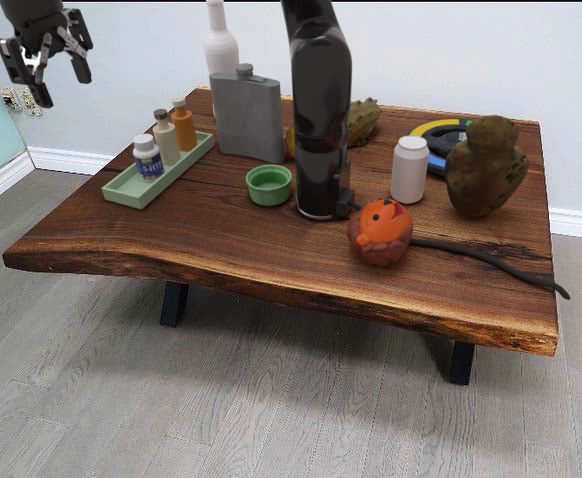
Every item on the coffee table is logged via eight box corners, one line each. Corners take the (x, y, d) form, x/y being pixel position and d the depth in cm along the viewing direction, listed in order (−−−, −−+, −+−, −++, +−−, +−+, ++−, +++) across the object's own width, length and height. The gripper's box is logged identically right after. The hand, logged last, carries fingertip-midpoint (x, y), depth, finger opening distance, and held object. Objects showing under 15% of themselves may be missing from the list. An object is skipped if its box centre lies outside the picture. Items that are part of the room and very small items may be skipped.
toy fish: (406, 282, 80) (414, 226, 72) (340, 273, 82) (342, 217, 75) (411, 235, 88) (419, 181, 81) (352, 228, 91) (354, 174, 84)
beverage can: (427, 193, 98) (435, 138, 90) (414, 210, 94) (422, 153, 87) (398, 184, 101) (403, 130, 93) (384, 200, 97) (389, 145, 89)
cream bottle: (185, 157, 112) (175, 108, 104) (173, 167, 109) (162, 118, 101) (168, 153, 113) (157, 105, 106) (156, 163, 110) (144, 114, 103)
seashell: (385, 131, 121) (388, 89, 115) (365, 154, 110) (367, 109, 105) (342, 124, 125) (343, 84, 120) (318, 146, 114) (319, 102, 109)
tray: (214, 145, 117) (213, 134, 115) (141, 209, 98) (138, 197, 97) (182, 138, 120) (180, 127, 119) (105, 199, 102) (101, 188, 100)
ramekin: (273, 213, 95) (272, 194, 93) (238, 198, 100) (235, 180, 97) (301, 191, 101) (301, 172, 98) (267, 178, 105) (265, 159, 102)
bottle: (246, 109, 131) (232, -17, 112) (246, 124, 125) (231, -7, 105) (215, 112, 131) (196, -14, 112) (213, 126, 124) (192, -5, 105)
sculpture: (434, 222, 91) (451, 120, 78) (440, 196, 97) (457, 98, 84) (512, 235, 87) (544, 130, 75) (513, 207, 93) (543, 106, 81)
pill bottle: (146, 185, 103) (136, 147, 98) (135, 175, 107) (124, 138, 101) (169, 176, 106) (160, 138, 100) (158, 166, 109) (149, 129, 104)
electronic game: (411, 125, 120) (413, 106, 117) (514, 137, 113) (519, 117, 110) (394, 175, 103) (396, 155, 100) (513, 192, 97) (519, 171, 94)
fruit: (304, 142, 116) (303, 110, 111) (336, 154, 111) (337, 120, 106) (277, 160, 110) (275, 127, 105) (310, 173, 106) (309, 139, 101)
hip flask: (217, 152, 114) (204, 65, 102) (226, 144, 117) (214, 58, 104) (281, 165, 109) (274, 74, 96) (288, 156, 112) (283, 66, 99)
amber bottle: (201, 143, 116) (193, 96, 109) (190, 153, 113) (181, 104, 106) (185, 140, 118) (175, 93, 110) (173, 149, 115) (163, 101, 107)
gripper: (0, -7, 59) (53, 119, 69) (80, -38, 69) (116, 77, 79) (-45, -9, 61) (13, 113, 72) (38, -38, 71) (79, 73, 82)
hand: (67, 94), depth 76 cm, fingers open, 8 cm apart
